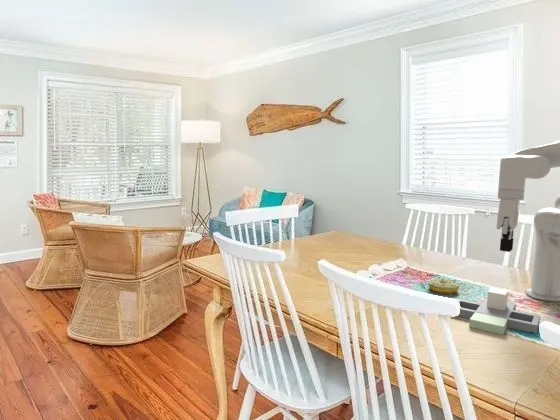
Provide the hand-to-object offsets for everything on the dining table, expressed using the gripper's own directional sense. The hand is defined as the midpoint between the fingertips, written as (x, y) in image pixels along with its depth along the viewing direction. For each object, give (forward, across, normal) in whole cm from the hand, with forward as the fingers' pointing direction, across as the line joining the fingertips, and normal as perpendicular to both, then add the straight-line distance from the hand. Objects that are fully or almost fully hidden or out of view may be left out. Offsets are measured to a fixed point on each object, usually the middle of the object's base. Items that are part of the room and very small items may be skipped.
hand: (506, 249), depth 142 cm
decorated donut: (+20, -4, -20) cm, 28 cm away
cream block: (+17, +9, 0) cm, 19 cm away
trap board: (+19, +13, 0) cm, 23 cm away
